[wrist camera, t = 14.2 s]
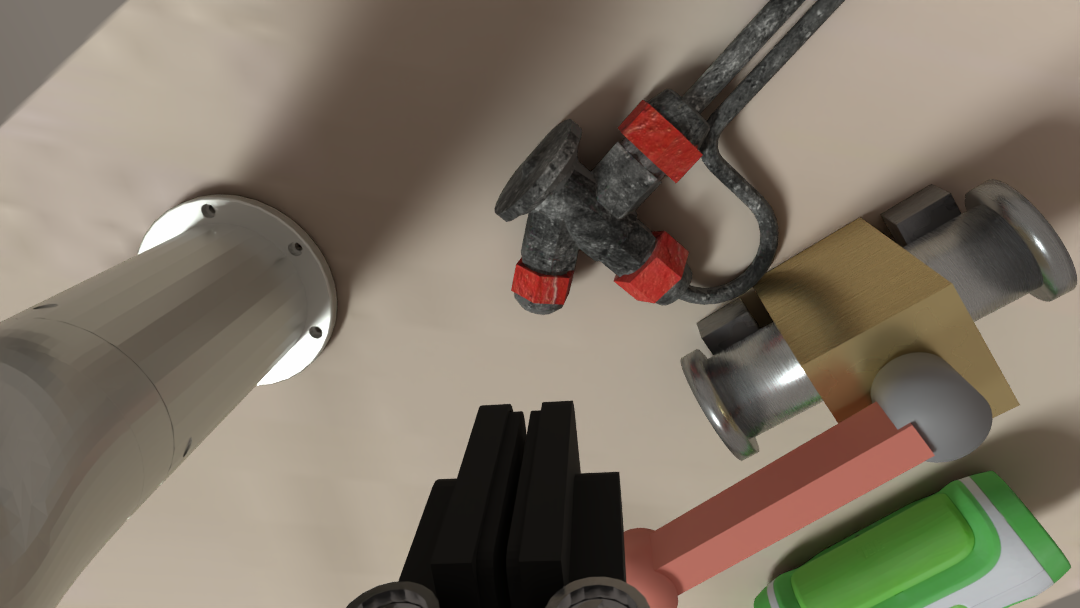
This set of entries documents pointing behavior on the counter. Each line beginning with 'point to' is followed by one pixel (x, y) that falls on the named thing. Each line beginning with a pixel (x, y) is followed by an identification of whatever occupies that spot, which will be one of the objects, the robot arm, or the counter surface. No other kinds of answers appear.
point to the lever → (815, 477)
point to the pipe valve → (877, 310)
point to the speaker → (932, 556)
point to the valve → (645, 182)
